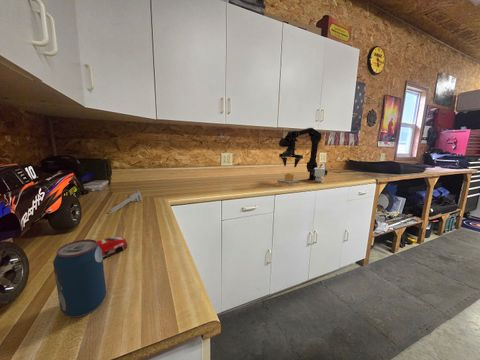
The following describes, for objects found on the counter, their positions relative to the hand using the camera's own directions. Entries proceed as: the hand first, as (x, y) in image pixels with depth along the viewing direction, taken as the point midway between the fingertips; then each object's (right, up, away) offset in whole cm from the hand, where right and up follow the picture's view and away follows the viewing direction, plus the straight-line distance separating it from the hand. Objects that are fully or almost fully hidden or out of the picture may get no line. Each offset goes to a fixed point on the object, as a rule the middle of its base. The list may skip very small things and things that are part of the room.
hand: (289, 166), depth 166 cm
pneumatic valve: (+25, -12, +6) cm, 29 cm away
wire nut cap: (0, -11, +2) cm, 11 cm away
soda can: (-69, -34, -127) cm, 149 cm away
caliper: (-93, -23, -70) cm, 119 cm away
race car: (-78, -31, -110) cm, 138 cm away
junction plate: (0, -12, +2) cm, 12 cm away
